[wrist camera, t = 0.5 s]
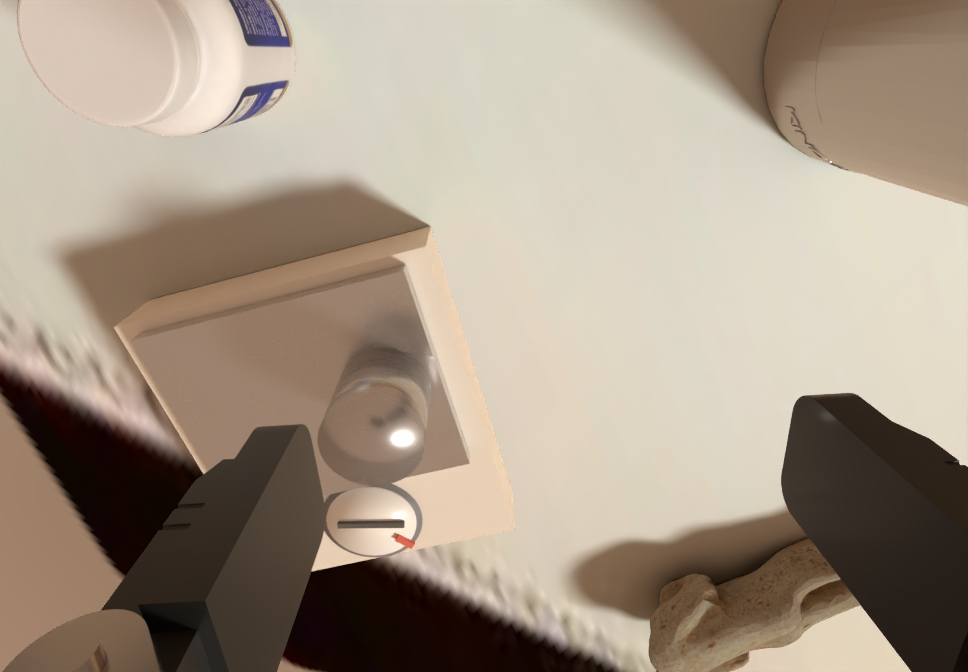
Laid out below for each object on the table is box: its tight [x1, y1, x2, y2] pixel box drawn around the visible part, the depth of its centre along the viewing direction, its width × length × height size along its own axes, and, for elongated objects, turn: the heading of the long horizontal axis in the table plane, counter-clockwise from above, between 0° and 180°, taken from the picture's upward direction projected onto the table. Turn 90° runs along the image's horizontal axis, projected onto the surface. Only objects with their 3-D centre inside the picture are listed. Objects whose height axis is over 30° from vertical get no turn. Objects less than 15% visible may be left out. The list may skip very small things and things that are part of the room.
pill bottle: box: [17, 0, 296, 137], centre depth 18 cm, size 5×5×9 cm
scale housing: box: [114, 226, 515, 571], centre depth 28 cm, size 16×14×4 cm
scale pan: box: [130, 264, 470, 496], centre depth 26 cm, size 10×12×1 cm
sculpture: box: [649, 538, 860, 672], centre depth 35 cm, size 7×5×15 cm
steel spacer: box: [317, 348, 431, 486], centre depth 23 cm, size 4×4×4 cm
